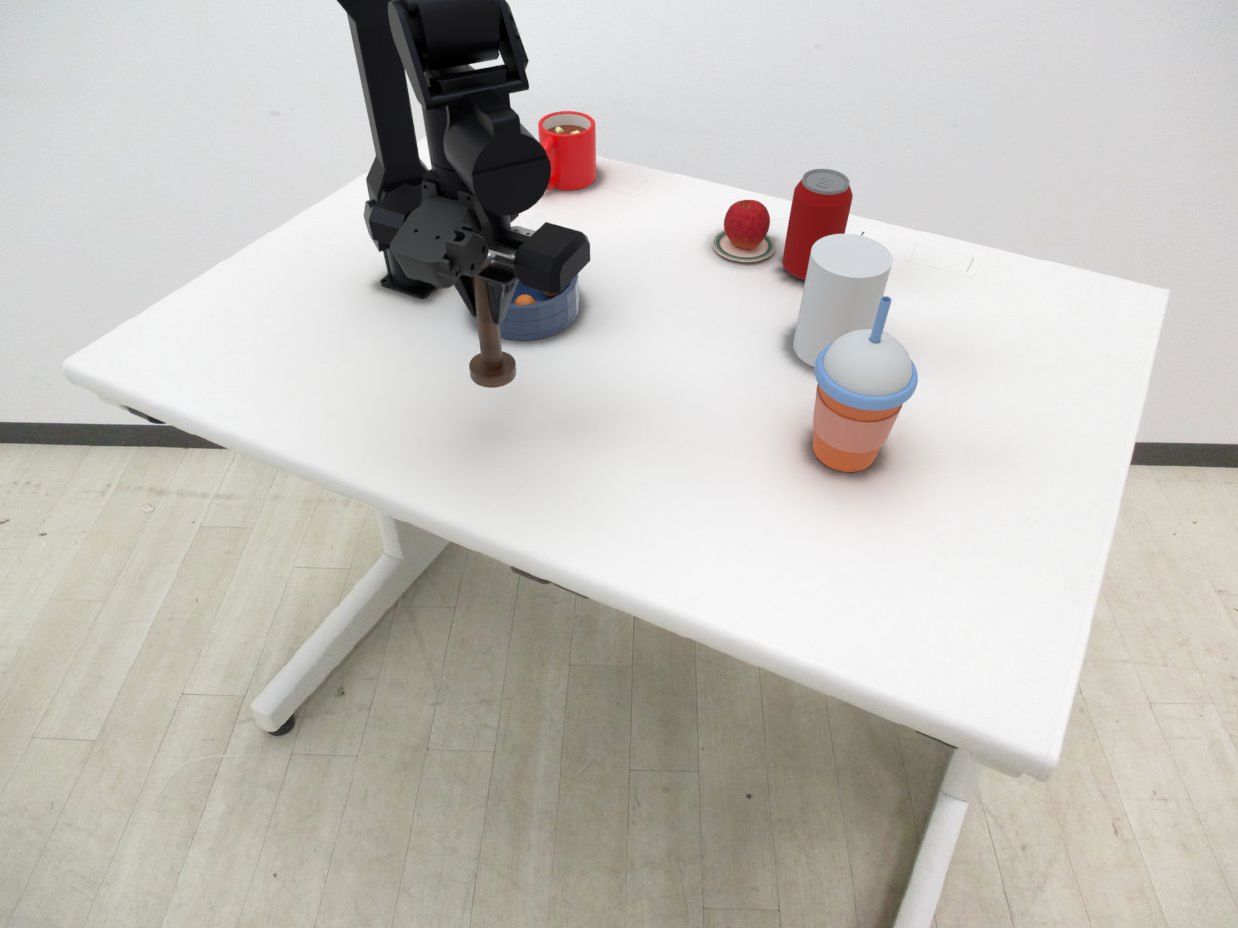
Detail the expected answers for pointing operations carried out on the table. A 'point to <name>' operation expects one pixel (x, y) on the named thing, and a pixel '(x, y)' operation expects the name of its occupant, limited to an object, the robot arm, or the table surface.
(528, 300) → the bead
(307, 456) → the table surface
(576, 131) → the mug
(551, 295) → the bead
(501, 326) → the bowl
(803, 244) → the beverage can
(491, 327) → the muddler
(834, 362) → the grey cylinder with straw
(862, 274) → the grey cylinder
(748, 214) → the apple
